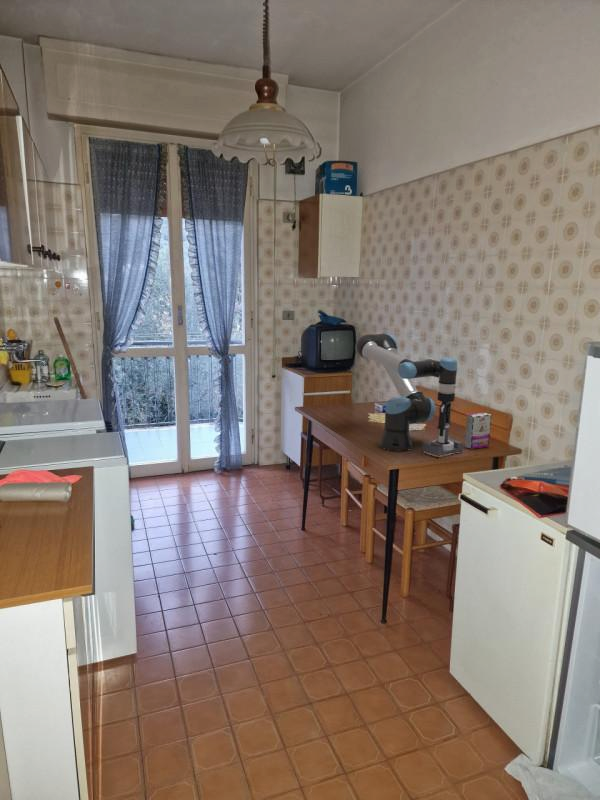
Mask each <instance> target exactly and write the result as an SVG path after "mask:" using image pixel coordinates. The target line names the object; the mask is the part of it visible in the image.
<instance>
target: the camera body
mask: <svg viewBox="0 0 600 800" xmlns="http://www.w3.org/2000/svg"><path fill="white" fill-rule="evenodd" d="M421 445H422V447H421V452H422V451H425V452H428V453H431V454H434V455H437V456H440V455H444V454H449V453H456V452H462V453H463V446H464V443H463V441H460V440H456V439H453V438H451V437H449V436H448V444H440V443H438V438H436V439H432V440H431V442H430V441H427V440H426V441H422V444H421Z"/></svg>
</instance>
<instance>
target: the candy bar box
mask: <svg viewBox="0 0 600 800" xmlns="http://www.w3.org/2000/svg"><path fill="white" fill-rule="evenodd" d="M491 422H492V414H491V413H487V412H479V413H478V412H477V413H471V414H467V415H466V425H465V426H466V427H465V437H464V438H465V442H464V447H465V448H466V447H467V448H466V449H468V448H470V449H469V450H471V449H472V450H476V449H475V448H479V449H483V447H485V448H489V447H488V446H490V437H491V426H492V425H491Z"/></svg>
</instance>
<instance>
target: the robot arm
mask: <svg viewBox="0 0 600 800" xmlns="http://www.w3.org/2000/svg"><path fill="white" fill-rule="evenodd" d="M354 348H355V351H356V354H357V355H358V356H360V357H361V358H363V359H365V360H367V361H369V360H371V361H373V362H376V363H377V364H379V365H382V366H383V368H384V370H385V372H386V373H387V375H388V377H389V378H390V380H391V382H392V383H393V385H394V387H395V389H396V391H397V392H398V394H399V396H400V397H393V398H390V399H388V400H387V401H386V402H385V408H384V431H383V434H382V437H381V439H380V442H379V447H380V446H381V447H382V449H383V448H385V449H384V450H386V449H389V450H388V451H390V450H408V449H410V450H412V448H413V443H412V439H411V436H410V435H411V434H410V425H414V424H419V423H420V424H421V423H426V422H428V421H431V420H432V419H433V418H434V416H435V414H436V404H435V402H434V400H433V399H432V398H431V397H428V396H427V397H426V396H425V395H424V393H423V391H421V390H418V389H417V387H416V385H415V384H414V382H413V381H412V379H417V378H426V377H433V378H438V387H437V389H438V390H437V391H438V393H437V400H438V401H439V402H441V404H440V406H439V408H438V409H439V410H438V411H439V413H438V423H437V424H438V425H437V428H436V429H437V430H439V436H438V435H437V439H438V442H440V443H444V440H445V423H448V424H449V426H451V411H452V410H451V409H452V408H451V407H452V403H453V402H454V401H455V400H456V399H455V397H456V394H455V392H456V389H457V387H458V386H457V385H456V383H457V375H458V374H457V373H458V361H457V359H456V358H453V357H452V358H450V357H442V358H440V360H434V359H432V358H423V359H422V360H417V361H416V360H415V361H413V360H410V359H408V358H406V357H404V356H401V355H399V354H397V353H398V348H399V347H398V341H397V339H396V338H395V336H394V335H392V334H390V333H383V332H382V333H378V334H377V333H376V334H373V333H372V334H364V335H361V336H360V337H359V338H358V339H357V341H356V343H355V347H354ZM381 447H380V448H381ZM408 451H409V450H408Z"/></svg>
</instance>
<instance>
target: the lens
mask: <svg viewBox="0 0 600 800" xmlns="http://www.w3.org/2000/svg"><path fill="white" fill-rule="evenodd" d="M449 430H450V425H449V424H448V423H445V440H444V443H440V442H438V443H440V444H448V437H449V432H450V431H449ZM437 431H438V434H437V437H438V436H439V429H437Z"/></svg>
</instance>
